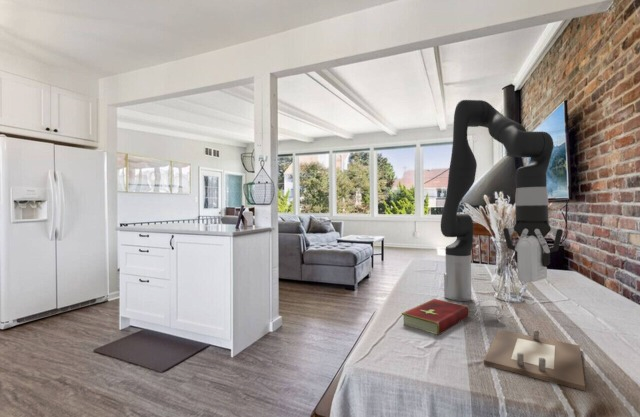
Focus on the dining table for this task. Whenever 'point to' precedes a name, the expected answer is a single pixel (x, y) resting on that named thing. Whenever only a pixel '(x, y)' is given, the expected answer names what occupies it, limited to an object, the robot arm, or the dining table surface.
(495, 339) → the walnut dock
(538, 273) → the photo printer
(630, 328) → the dining table surface
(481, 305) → the white arched piece
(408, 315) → the hardcover book
